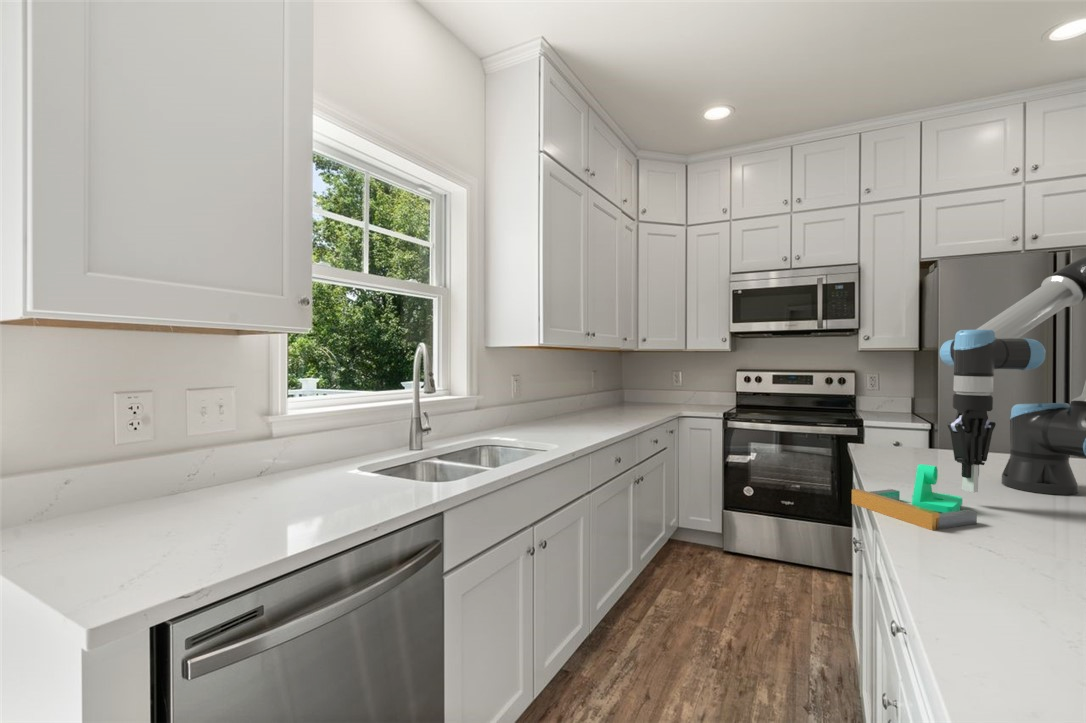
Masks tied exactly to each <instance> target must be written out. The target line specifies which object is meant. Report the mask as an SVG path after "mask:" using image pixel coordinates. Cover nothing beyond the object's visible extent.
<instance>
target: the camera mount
mask: <svg viewBox="0 0 1086 723" xmlns="http://www.w3.org/2000/svg"><path fill="white" fill-rule="evenodd" d="M916 469H917V470H916V473H915V474H916V475H915V482H914V486H913V492H912V500H911V505H914V506H918V507H921V508H925V509H928V510H931V511H935V512H938V513H947V512H954V511H961V506H962V505H963V497H961V496H958V495H953V494H945V493H939V492H935V491H933V488H932V485H935V486H936V485H937V483H938V482H937V481H938V476H939V474H938V467H937V466H936V465H929V464H920V463H919V464H918V465H917V467H916Z"/></svg>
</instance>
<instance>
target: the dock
mask: <svg viewBox="0 0 1086 723" xmlns="http://www.w3.org/2000/svg"><path fill="white" fill-rule="evenodd" d="M900 494H901V493H900V490H896V489H891V488H890V489H882V490H873V491H872V490H871V491H866V490H864V489H859V488H853V489H851V504H852V505H855V506H858V507H860V508H862V509H863V508H864V509H867V510H870V511H871V512H872V511H873V512H875V513H879V514H882V515H885V516H888V517H890V518H895V519H897V520H900V521H903V522H906V523H909V524H912V525H914V526H915V525H916V526H918V527H921V528H925V529H927V530H931V531H936V530H943V529H951V528H958V527H965V526H971V525H972V526H973V525H977V520H978V514H977V513H978V512H976V511H972V510H969V509H964V510H963V509H962V510H960V511H954V512H947V513H942V512H937V511H931V510H928V509H925V508H921V507H918V506H914V505H912V503H911V504H910V503H907V502H903V501H900V498H901V497H900Z"/></svg>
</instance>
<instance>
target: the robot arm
mask: <svg viewBox="0 0 1086 723" xmlns="http://www.w3.org/2000/svg"><path fill="white" fill-rule="evenodd" d="M1085 300H1086V255H1085V256H1083V257H1080V258H1078V259H1076V260H1074V261H1073V262H1071V263H1069V264H1067V265H1065V266H1063V267H1062V268H1060V269H1058V270H1057V271H1055V272H1053V273H1052V274H1051V275H1049V276H1048V277H1046V278H1044V279H1043V280H1042V282H1041V285H1040V287H1038V288H1037V289H1035V290H1034V291H1032V292H1031V293H1029V294H1028V295H1025V297H1023V298H1021V299H1020V300H1019V301H1017V302H1015V303H1014V304H1012V305H1011V306H1009V307H1008V308H1006V309H1005V310H1004V311H1002V312H1000V313H998V314H997V315H996V316H994V317H993V318H991V319H990V320H988V321H987V322H985V323H983V325H980V326H979V327H977V328H976V329H960V330H958V331H957V332H956V333H955V336H954V339H949V340H946V341H944V343H943V344H942V345H941V347H940V348H939V357H940V360H941V361H942V362H943V363H944V364H945V365H946V366H949V367H953V391H954V392H955V393H953V395H952V408H953V409H954V410H956V411H957V413H956V415H955V421H953V422H948V423H947V427H948V430H949V432H950V438H951V445H952V452H953V457H954V461H956V462H957V463H960V464H961V490H962V491H966V492H970V493H978V492H979V476H980V466H984V465H985V462H987V461H988V460H987V459H988V456H989V455H988V454H989V450H990V445H991V440H992V435H993V432H994V430H995V427H996V422H993V421H990V420H989V415H988V412H991V411H992V410H993V404H994V397H993V395H991V394H994V380H995V379H994V376H995V373H994V372H995V370H1018V371H1025V370H1035V369H1037V368H1038V367H1040V366H1041V365H1042V364H1043V363H1044V361H1045V360H1046V349H1045V346H1044V344H1042V343H1041V342H1040V341H1039V340H1036V339H1033V338H1025V337H1022V336H1024V335H1025V334H1027V333H1028V332H1030V331H1031V330H1032V329H1033V330H1034V328H1036V327H1037V326H1038V325H1040V324H1042V323H1043V322H1044V321H1046V320H1048V319H1049V318H1050V317H1051V318H1052V316H1054V315H1056V314H1057V313H1059V312H1060V311H1061V310H1064V308H1067V307H1068V308H1069V307H1073V306H1077V305H1078V304H1079V303H1081V302H1083V301H1085ZM1021 337H1022V338H1021ZM1070 401H1071V402H1070V404H1069V403H1066V402H1056V403H1055V402H1051V403H1050V402H1049V403H1047V402H1046V403H1017V404H1015V405H1013V406H1012V408H1011V411H1010V412H1011V413H1010V418H1009V434H1010V435H1009V437H1010V438H1009V439H1010V440H1009V441H1010V446H1009V448H1010V452H1009V458H1008V460H1007V462H1006V464H1005V467H1004V470H1003V471H1002V474H1001V484H1002V485H1003V486H1005V487H1009V488H1013V489H1016V490H1020V491H1025V492H1026V491H1027V492H1031V493H1039V494H1046V495H1047V494H1048V495H1049V494H1050V495H1061V496H1062V495H1065V496H1066V495H1067V496H1068V495H1076V494H1078V490H1079V488H1078V482H1077V480H1076V478H1075V474H1074V472H1073V470H1072V467H1071V464H1070V463H1069V462H1070V461H1069V460H1070V456H1073V457H1078V458H1083V459H1086V380H1085V381H1084V385H1083V390H1082V393H1081V394H1080V395H1079V396H1078V397H1075V398H1073V399H1071V400H1070Z"/></svg>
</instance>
